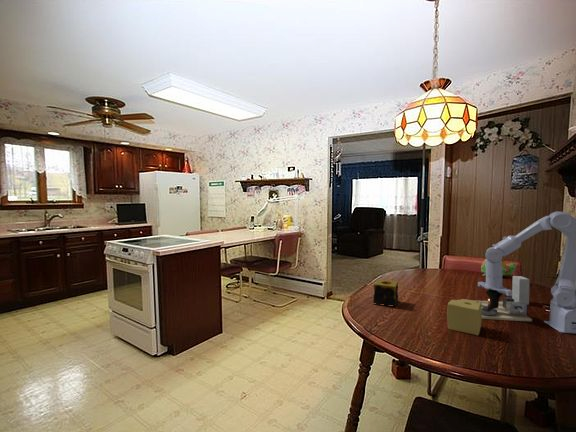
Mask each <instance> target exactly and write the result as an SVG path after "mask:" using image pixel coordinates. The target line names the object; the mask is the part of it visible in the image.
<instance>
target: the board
mask: <svg viewBox="0 0 576 432" xmlns="http://www.w3.org/2000/svg"><path fill="white" fill-rule="evenodd" d="M473 301H477V302H481V303H482V305H484V306H488V300H473ZM495 309H496V310H497V315H495V316H487V315H482V320H497V321H512V322H513V321H514V322H516V321H517V322H533V318H531V317H529V316H528V315H526V316H523V315H509V314H508V313H507V312H506V309H505V308H504V307H503V301H499V306H498V308H495ZM515 310H516V309H515Z"/></svg>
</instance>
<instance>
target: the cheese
mask: <svg viewBox="0 0 576 432" xmlns="http://www.w3.org/2000/svg"><path fill="white" fill-rule="evenodd" d="M477 301H478V300H475V301H473V300H471V299H465V298H461V299H451V300H450V301H448V303H447V310H446V319H447V328H448V330H452V331H456V332H460V333H464V334H470V335H473V336H479V335H480V332H481V327H482V320H483V319H482V303H481V302H477Z"/></svg>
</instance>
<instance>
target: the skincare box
mask: <svg viewBox="0 0 576 432" xmlns="http://www.w3.org/2000/svg"><path fill="white" fill-rule="evenodd" d="M511 288H512V289H511V291H512V296H511V298H513V299H514V302H523V303H525V304H527V306H529V305H530V279H529V278H527V277H524V276H521V275H520V276H519V275H513V276H512V287H511Z"/></svg>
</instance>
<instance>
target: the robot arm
mask: <svg viewBox="0 0 576 432" xmlns="http://www.w3.org/2000/svg"><path fill="white" fill-rule="evenodd" d="M552 227H553V228H555V229H556V230H558V231H560V233H562V234H563V235H564V236H565V237H566V240H565V245H564V250H563V254H562V259H561V264H560V269H559V272H558V276H557V278H556V280H555V283H554V285H553V286H552V287H551V289H550V293H551V296H552V297H553V298H552V299H550V304H549V305H550V307H549V320H544V321H543V323H544V324H547V325H549V327H552V328H553V329H555V330H557V332H559V333H563V334H576V218H575V217H574V216H573V215H571V214H569V213H567V212H564V211H560V210H559V211H553V212H551V213H550V214H549V215H545V216H543V217H541V218H540V219H538V220H536V221H535V222H533V223H532V224H530V225H529V226H527V227H526V228H524V229H523V230H521V231H520V232H519V233H517V234H516V235H508V236H503V237H502V240H500V241H498V242H497V243H495V244H494V243H493V244H492V246H491V247H489V248H487V249H486V251H485V254H484V256H485V259H486V276H485V282H484V281H478V282H477V287H480V288H481V287H482V288H483V289H486V290H485V293H486V294H487V295H486V296H488V298H490V305H491V307H492V308H498V306H499V302H500V298H501V296H502V295H506V297H512V289H509V288H507V287H505V286H503V275H502V265H501V260H503V257H507V256H508V255H510V254H511V253H513V252H515V251H516V250H518V249H520V248H521V246H522V243H523V242H524V241H526V240H527V239H529V238H531V237H533V236H534V235H536V234H538V233H540V232H542V231H549V230H553V229H552Z"/></svg>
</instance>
